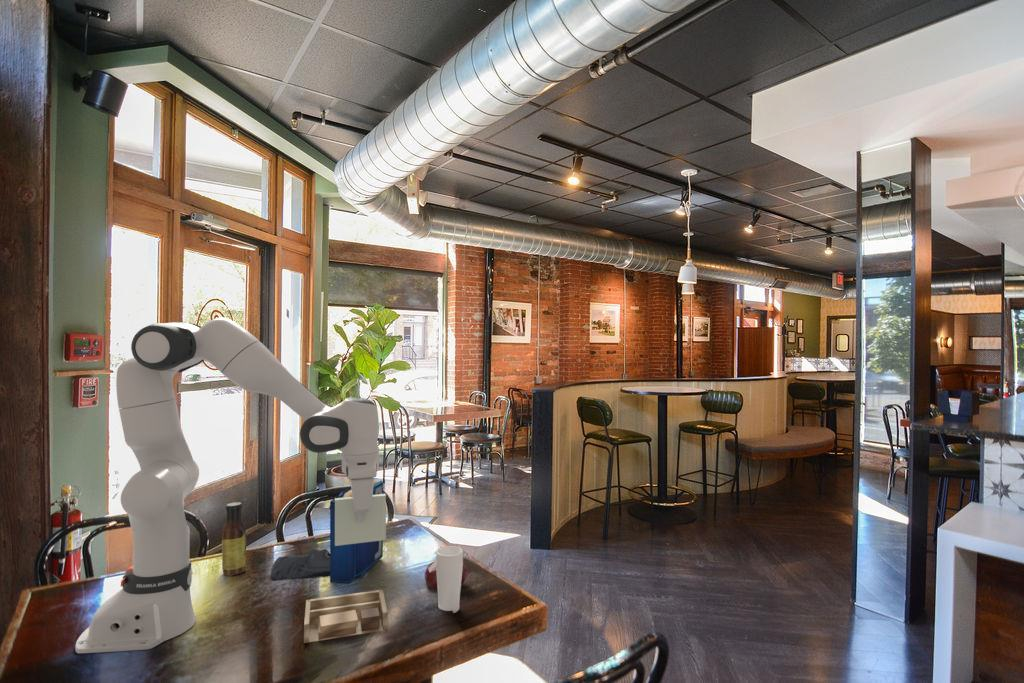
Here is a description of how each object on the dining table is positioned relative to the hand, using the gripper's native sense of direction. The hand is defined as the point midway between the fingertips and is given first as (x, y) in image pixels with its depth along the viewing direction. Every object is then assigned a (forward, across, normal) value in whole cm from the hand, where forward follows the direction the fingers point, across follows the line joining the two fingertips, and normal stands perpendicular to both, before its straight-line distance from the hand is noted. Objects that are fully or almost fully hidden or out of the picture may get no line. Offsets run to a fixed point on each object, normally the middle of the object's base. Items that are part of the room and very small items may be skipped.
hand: (360, 519), depth 130 cm
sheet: (+5, 0, 0) cm, 5 cm away
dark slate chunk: (+24, -35, -12) cm, 44 cm away
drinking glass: (+24, +3, +21) cm, 33 cm away
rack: (+24, +4, -4) cm, 25 cm away
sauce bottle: (+24, -38, -34) cm, 56 cm away
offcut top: (+21, +7, -5) cm, 23 cm away
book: (+24, -27, 0) cm, 36 cm away
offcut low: (+23, +7, -6) cm, 24 cm away
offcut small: (+23, +7, +2) cm, 24 cm away
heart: (+25, -11, +23) cm, 36 cm away
